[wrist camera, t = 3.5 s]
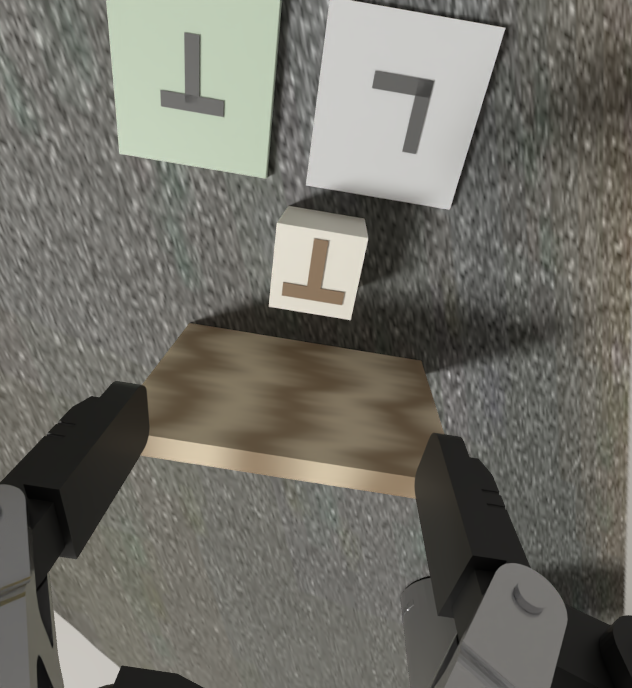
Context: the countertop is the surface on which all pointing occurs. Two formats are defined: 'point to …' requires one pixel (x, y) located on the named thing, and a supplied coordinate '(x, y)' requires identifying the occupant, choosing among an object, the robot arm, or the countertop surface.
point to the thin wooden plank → (291, 410)
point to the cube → (317, 262)
